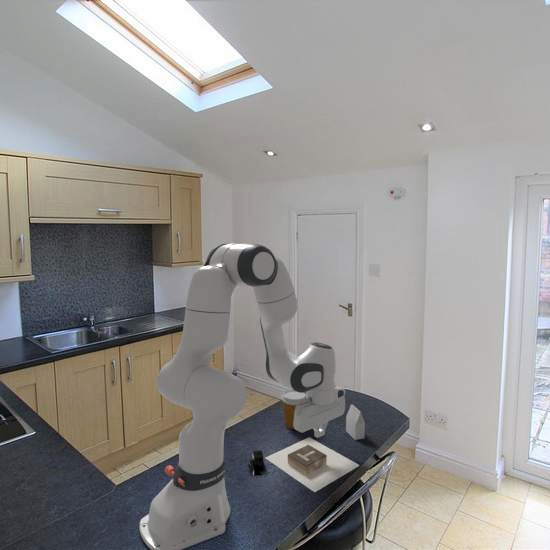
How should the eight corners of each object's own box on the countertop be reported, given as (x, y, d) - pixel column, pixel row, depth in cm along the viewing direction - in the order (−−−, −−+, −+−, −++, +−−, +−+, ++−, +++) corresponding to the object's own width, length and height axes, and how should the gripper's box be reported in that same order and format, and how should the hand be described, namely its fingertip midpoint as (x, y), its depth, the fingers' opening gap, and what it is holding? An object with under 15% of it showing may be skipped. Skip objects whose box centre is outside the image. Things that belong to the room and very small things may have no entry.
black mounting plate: (272, 478, 120) (272, 464, 119) (248, 481, 118) (248, 466, 118) (265, 455, 132) (265, 442, 131) (243, 457, 131) (243, 444, 130)
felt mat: (314, 492, 113) (314, 492, 113) (264, 458, 129) (264, 457, 129) (359, 465, 126) (359, 465, 126) (309, 437, 142) (309, 437, 142)
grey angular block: (354, 440, 141) (355, 413, 140) (345, 431, 147) (346, 404, 146) (364, 438, 142) (365, 411, 141) (355, 429, 148) (355, 403, 147)
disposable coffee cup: (311, 423, 152) (311, 393, 151) (298, 434, 144) (299, 402, 143) (289, 417, 158) (289, 387, 156) (276, 427, 150) (276, 396, 148)
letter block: (326, 464, 126) (305, 475, 120) (308, 453, 132) (287, 463, 126) (326, 455, 126) (306, 466, 120) (308, 444, 132) (287, 454, 126)
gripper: (303, 406, 118) (302, 451, 120) (349, 389, 131) (347, 429, 133) (289, 399, 123) (288, 442, 124) (334, 383, 136) (333, 422, 137)
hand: (319, 435), depth 129 cm, fingers closed
